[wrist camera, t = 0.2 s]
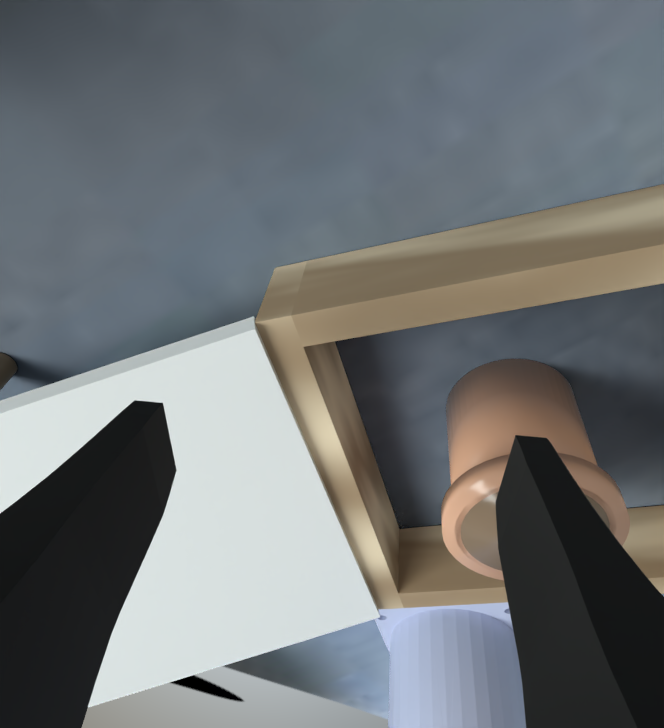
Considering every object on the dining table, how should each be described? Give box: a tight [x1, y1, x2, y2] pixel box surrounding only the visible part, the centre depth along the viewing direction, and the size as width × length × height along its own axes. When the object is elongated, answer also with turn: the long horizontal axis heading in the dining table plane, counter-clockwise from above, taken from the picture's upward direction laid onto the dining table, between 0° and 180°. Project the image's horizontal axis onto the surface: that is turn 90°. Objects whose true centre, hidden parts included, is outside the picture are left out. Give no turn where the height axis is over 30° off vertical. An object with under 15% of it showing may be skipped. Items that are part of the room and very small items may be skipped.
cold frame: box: [0, 184, 664, 707], centre depth 22 cm, size 16×28×8 cm, turn 106°
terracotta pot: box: [441, 359, 630, 581], centre depth 21 cm, size 6×6×6 cm
